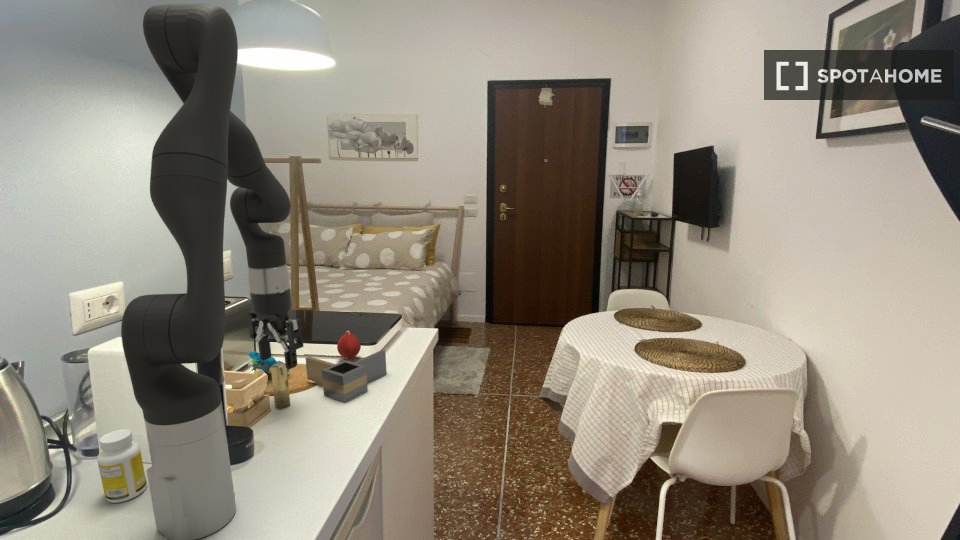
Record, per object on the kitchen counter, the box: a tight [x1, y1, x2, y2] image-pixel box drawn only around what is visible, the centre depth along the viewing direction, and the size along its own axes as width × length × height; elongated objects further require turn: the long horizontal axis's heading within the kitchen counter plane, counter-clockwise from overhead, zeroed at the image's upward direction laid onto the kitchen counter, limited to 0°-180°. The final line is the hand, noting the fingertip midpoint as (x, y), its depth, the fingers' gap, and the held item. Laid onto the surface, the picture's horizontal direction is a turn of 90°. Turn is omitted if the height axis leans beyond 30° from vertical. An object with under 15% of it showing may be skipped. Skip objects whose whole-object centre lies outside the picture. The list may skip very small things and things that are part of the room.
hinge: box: [305, 349, 387, 404], centre depth 117 cm, size 16×16×6 cm
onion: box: [336, 330, 362, 361], centre depth 129 cm, size 6×6×8 cm
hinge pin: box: [270, 362, 292, 410], centre depth 105 cm, size 3×3×9 cm
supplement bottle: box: [97, 428, 148, 504], centre depth 78 cm, size 5×5×10 cm
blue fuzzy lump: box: [248, 350, 291, 373], centre depth 120 cm, size 11×6×10 cm
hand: (278, 363), depth 104 cm, fingers open, 8 cm apart
